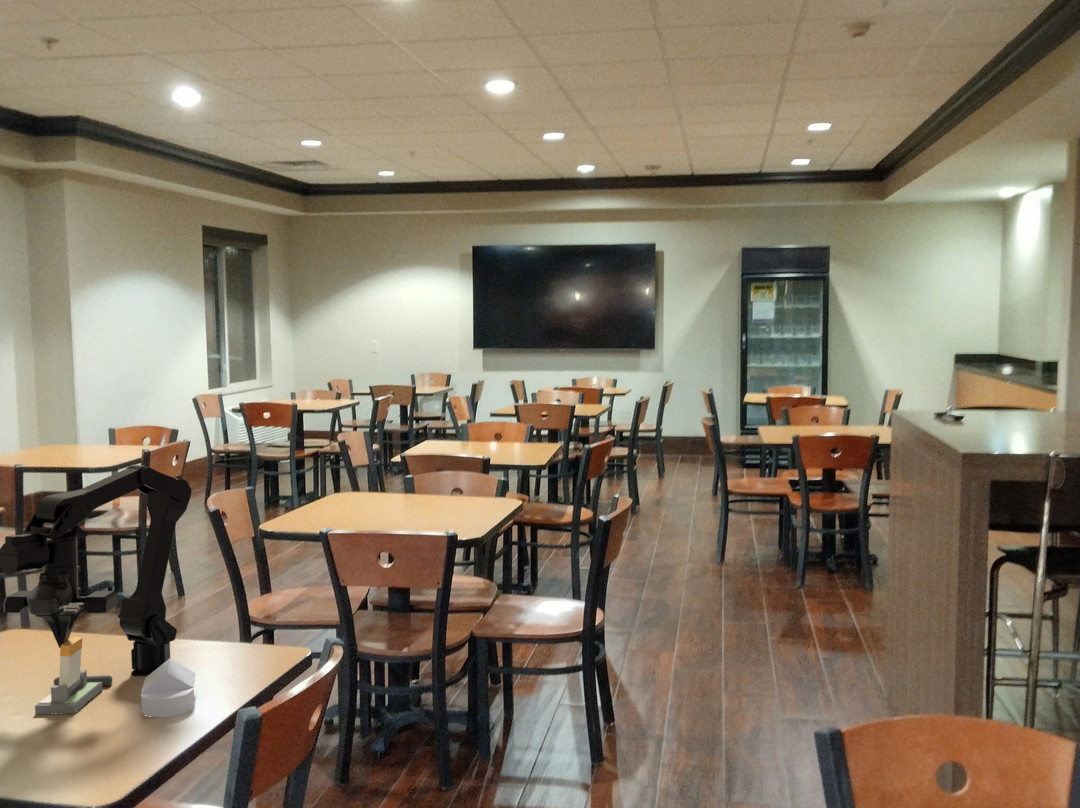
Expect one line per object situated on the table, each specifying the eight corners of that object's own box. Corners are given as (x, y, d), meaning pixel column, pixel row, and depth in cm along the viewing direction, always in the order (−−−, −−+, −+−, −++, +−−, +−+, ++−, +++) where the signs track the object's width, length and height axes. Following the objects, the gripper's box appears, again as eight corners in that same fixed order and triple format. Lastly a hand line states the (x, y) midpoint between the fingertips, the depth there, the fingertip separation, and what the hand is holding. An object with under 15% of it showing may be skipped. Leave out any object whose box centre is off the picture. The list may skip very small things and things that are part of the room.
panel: (102, 690, 192) (101, 667, 191) (74, 713, 180) (73, 690, 179) (65, 690, 192) (64, 668, 191) (35, 714, 180) (34, 690, 179)
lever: (81, 686, 188) (83, 637, 188) (67, 697, 183) (70, 646, 182) (70, 685, 188) (73, 636, 188) (56, 696, 183) (59, 645, 182)
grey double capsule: (115, 681, 197) (115, 672, 197) (108, 687, 193) (108, 678, 193) (60, 681, 196) (59, 673, 196) (52, 688, 193) (51, 678, 193)
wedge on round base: (145, 695, 189) (139, 720, 176) (144, 660, 188) (137, 683, 176) (196, 690, 191) (193, 714, 179) (194, 655, 191) (191, 677, 178)
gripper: (-15, 574, 176) (-12, 661, 177) (91, 574, 176) (93, 661, 177) (18, 560, 187) (20, 642, 188) (118, 560, 187) (119, 642, 188)
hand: (62, 647), depth 185 cm, fingers closed
